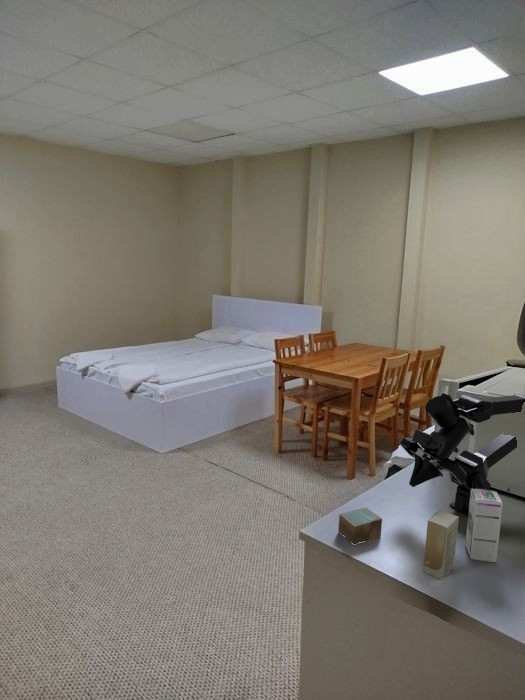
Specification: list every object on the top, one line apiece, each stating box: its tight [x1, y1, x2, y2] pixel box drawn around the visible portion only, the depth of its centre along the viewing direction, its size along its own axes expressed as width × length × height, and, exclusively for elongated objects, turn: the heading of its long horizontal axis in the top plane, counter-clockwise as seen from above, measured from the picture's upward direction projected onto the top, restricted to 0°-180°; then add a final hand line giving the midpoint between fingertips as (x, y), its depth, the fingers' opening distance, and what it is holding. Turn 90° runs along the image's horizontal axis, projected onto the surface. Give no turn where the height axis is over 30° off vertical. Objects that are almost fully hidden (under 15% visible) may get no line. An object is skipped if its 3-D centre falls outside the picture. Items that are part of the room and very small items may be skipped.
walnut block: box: [337, 506, 383, 545], centre depth 117 cm, size 5×6×8 cm
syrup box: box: [465, 489, 504, 563], centre depth 110 cm, size 6×6×14 cm
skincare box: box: [422, 509, 460, 581], centre depth 104 cm, size 6×4×12 cm
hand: (410, 485), depth 121 cm, fingers closed
